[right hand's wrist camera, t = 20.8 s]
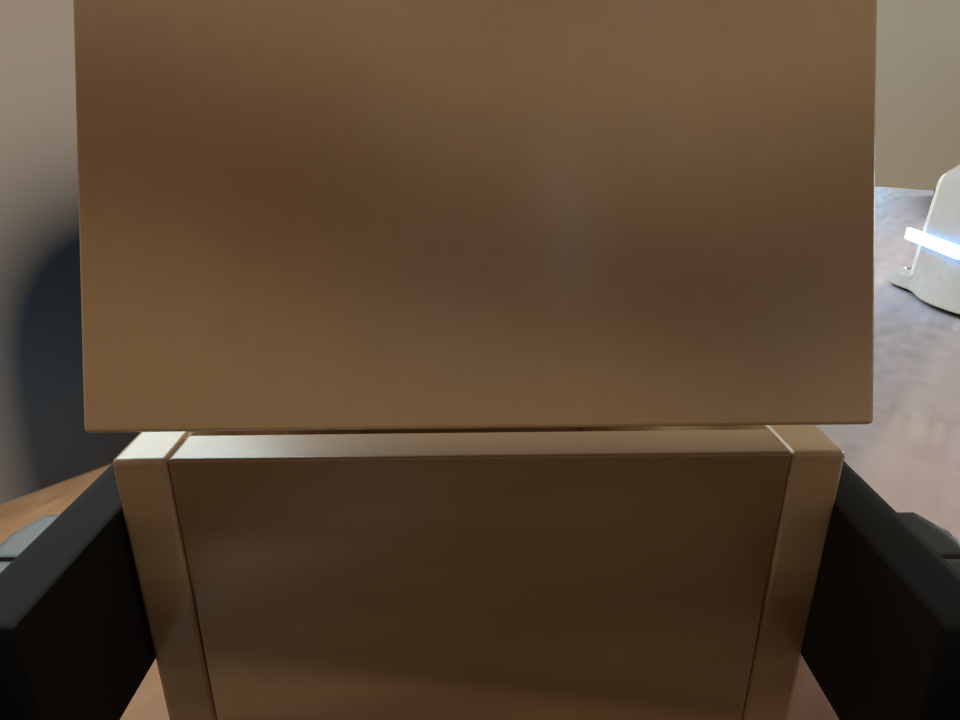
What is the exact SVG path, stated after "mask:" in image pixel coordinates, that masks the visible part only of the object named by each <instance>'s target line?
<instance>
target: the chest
mask: <svg viewBox="0 0 960 720" xmlns="http://www.w3.org/2000/svg"><path fill="white" fill-rule="evenodd" d="M844 457H845V456H844V452H843V450H842V449H841V448H839V447H838V446H837V445H836V444H835V443H834V442H833V441H832V440H831V439H830V438H828V437H827V436H826V435H825V434H824V433H823V432H822V431H821V430H820V429H819V428H818V427H816V426H815V425H738V426H646V427H554V428H462V429H369V430H277V431H185V432H141V433H140V434H139V435H138V436H137V437H136V438H135V439H134V440H133V441H132V442H131V443H130V444H129V445H128V446H127V447H126V448H125V449H124V450H123V451H122V452H121V453H120V454H119V455H118V456H117V457H116V458H115V459H114V461H113V469H114V473H115V478H116V482H117V486H118V491H119V495H120V500H121V504H122V509H123V513H124V518H125V522H126V527H127V531H128V535H129V540H130V544H131V549H132V553H133V558H134V562H135V567H136V571H137V575H138V580H139V584H140V589H141V593H142V598H143V602H144V607H145V611H146V615H147V620H148V624H149V629H150V633H151V638H152V642H153V647H154V651H155V656H156V660H157V664H158V669H159V673H160V678H161V682H162V687H163V691H164V696H165V700H166V704H167V709H168V713H169V718H170V720H787V717H788V712H789V708H790V703H791V699H792V694H793V689H794V685H795V680H796V676H797V671H798V667H799V662H800V658H801V651H802V646H803V642H804V637H805V633H806V628H807V624H808V619H809V615H810V610H811V606H812V601H813V597H814V592H815V587H816V583H817V578H818V574H819V569H820V565H821V560H822V556H823V551H824V547H825V542H826V537H827V533H828V528H829V524H830V519H831V515H832V510H833V506H834V503H835V498H836V494H837V489H838V484H839V480H840V475H841V471H842V466H843V462H844Z"/></svg>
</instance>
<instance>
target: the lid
mask: <svg viewBox="0 0 960 720" xmlns="http://www.w3.org/2000/svg"><path fill="white" fill-rule="evenodd" d="M876 23H877V0H74V36H75V74H76V112H77V151H78V189H79V228H80V266H81V304H82V344H83V381H84V421H85V430H86V431H88V432H90V433H92V432H185V431H277V430H369V429H462V428H554V427H646V426H738V425H830V424H869V423H872V420H873V342H874V236H875V129H876Z"/></svg>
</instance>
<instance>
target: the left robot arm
mask: <svg viewBox="0 0 960 720" xmlns="http://www.w3.org/2000/svg"><path fill="white" fill-rule="evenodd" d="M905 239H908V240H910V241H912V242H915V243H917V244H919V245H918V249H917V252H916V255H915V258H914V262H913V265H912V266H907V267H900V268H895V269H893V270H892V272H891V275H890V278H889V282H890V283H893V284H895V285H897V286H900V287H903V288H906V289H908V290H910V291H911V292H913V293H914V294H915V295H916V296H917V297H918V298H919V299H921V300H923V301H924V302H926V303H929V304H931V305H933V306H936V307H938V308H941V309H944V310H947V311H950V312H953V313H957V314H960V165H958V166H957V167H955V168H953V169H951V170H950V171H948V172H947V173H946V174H944V175H942V177H941V178H940V180H939V182H938V184H937V187H936V189H935V190H934V197H933V200H932V203H931V206H930V209H929V213H928V216H927V219H926V222H925V226H924V229H923V232H922V231H919V230H916V229H913V228H907V230H906V234H905Z"/></svg>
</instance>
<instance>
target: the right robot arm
mask: <svg viewBox="0 0 960 720" xmlns="http://www.w3.org/2000/svg"><path fill="white" fill-rule="evenodd" d="M801 655H802V656H803V658H804V660H805V662H806V663H807V665H808V667H809V668H810V670H811V672H812V673H813V675H814V677H815V679H816V680H817V682H818V684H819V685H820V687H821V689H822V691H823V692H824V694H825V696H826V697H827V699H828V701H829V702H830V704H831V706H832V708H833V709H834V711H835V713H836V714H837V716H838V718H839V719H840V720H960V542H959V541H958V540H957V539H955V538H954V537H953V536H952V535H951V534H950V533H949V532H947V531H946V530H944V529H942V528H940V527H939V526H937V525H935V524H933V523H931V522H930V521H928V520H926V519H924V518H923V517H921V516H919V515H917V514H915V513H897V512H895V511H894V510H893V509H892V508H891V507H890V506H889V505H888V504H887V503H886V502H885V501H884V500H883V499H882V498H881V497H880V496H879V495H878V494H877V493H876V492H875V491H874V490H873V489H872V488H871V487H870V486H869V485H868V484H867V483H866V482H865V481H864V480H863V479H862V478H861V477H860V476H859V475H857V474H856V473H855V472H854V471H853V470H852V469H851V468H850V467H849V466H848V465H847V464H846V463H845V462H843V466H842V471H841V475H840V480H839V484H838V489H837V494H836V498H835V503H834V506H833V510H832V515H831V519H830V524H829V528H828V533H827V537H826V542H825V547H824V551H823V556H822V560H821V565H820V569H819V574H818V578H817V583H816V587H815V592H814V597H813V601H812V606H811V610H810V615H809V619H808V624H807V628H806V633H805V637H804V642H803V646H802V651H801ZM155 658H156V656H155V651H154V647H153V642H152V638H151V633H150V629H149V624H148V620H147V615H146V611H145V607H144V602H143V598H142V593H141V589H140V584H139V580H138V575H137V571H136V567H135V562H134V558H133V553H132V549H131V544H130V540H129V535H128V531H127V527H126V522H125V518H124V513H123V509H122V504H121V500H120V495H119V491H118V486H117V482H116V478H115V473H114V469H113V464H112V465H111V466H110V467H109V468H108V469H107V470H106V471H105V472H104V473H103V474H101V475H100V476H99V477H98V478H97V479H96V480H95V481H94V482H93V483H92V484H91V485H90V486H89V487H88V488H87V489H86V490H85V491H84V492H83V493H82V494H81V495H80V496H79V497H78V498H77V499H76V500H75V501H74V502H73V503H72V504H71V505H70V506H69V507H68V508H67V509H66V510H65V511H63V512H62V513H61V514H60V515H45V516H43V517H41V518H39V519H38V520H36V521H34V522H32V523H31V524H29V525H27V526H25V527H23V528H22V529H20V530H18V531H16V532H15V533H13V534H11V535H10V536H9V537H8V538H7V539H6V540H5V541H4V542H2V543H1V544H0V720H120V718H121V716H122V714H123V713H124V711H125V709H126V708H127V706H128V704H129V703H130V701H131V699H132V697H133V696H134V694H135V692H136V691H137V689H138V687H139V686H140V684H141V682H142V680H143V679H144V677H145V675H146V674H147V672H148V670H149V668H150V667H151V665H152V663H153V662H154V660H155Z"/></svg>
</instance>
